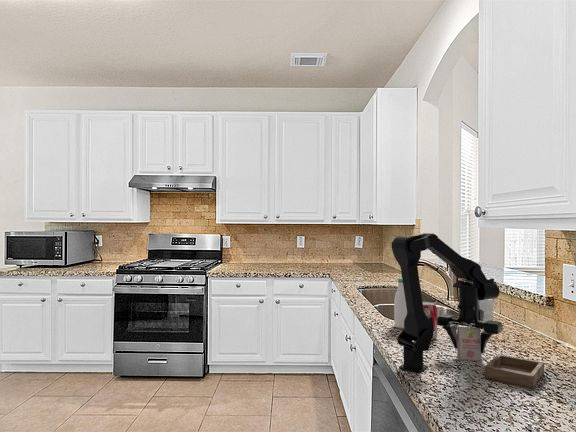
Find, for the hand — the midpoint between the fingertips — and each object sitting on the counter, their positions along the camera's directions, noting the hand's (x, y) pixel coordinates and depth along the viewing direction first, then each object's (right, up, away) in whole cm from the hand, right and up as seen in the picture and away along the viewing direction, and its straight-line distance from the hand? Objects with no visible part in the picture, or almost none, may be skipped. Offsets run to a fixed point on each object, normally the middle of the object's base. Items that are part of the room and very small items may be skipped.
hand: (469, 350), depth 138 cm
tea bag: (0, -3, 0) cm, 3 cm away
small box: (+26, -3, +47) cm, 54 cm away
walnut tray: (+6, -3, -16) cm, 17 cm away
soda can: (-5, -3, +24) cm, 25 cm away
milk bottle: (-10, -3, +41) cm, 42 cm away
